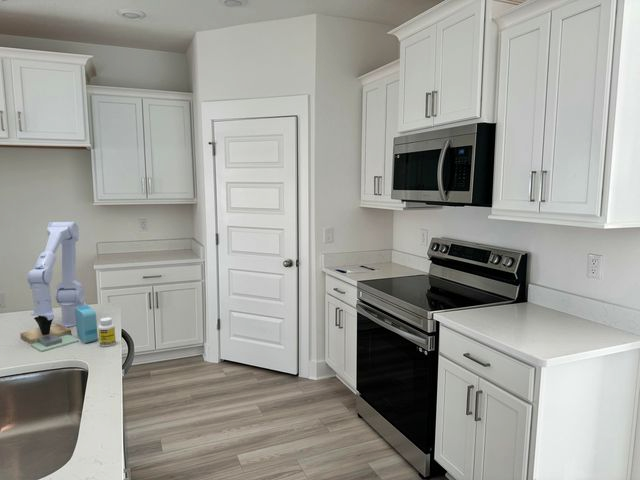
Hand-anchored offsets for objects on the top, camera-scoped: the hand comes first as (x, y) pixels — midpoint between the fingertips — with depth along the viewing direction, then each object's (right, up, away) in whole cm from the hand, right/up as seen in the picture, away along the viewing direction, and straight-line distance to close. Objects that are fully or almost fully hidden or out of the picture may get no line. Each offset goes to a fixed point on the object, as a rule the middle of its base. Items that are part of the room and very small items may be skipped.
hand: (45, 334), depth 169 cm
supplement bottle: (+25, -3, -3) cm, 26 cm away
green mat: (+5, -3, -2) cm, 6 cm away
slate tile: (+3, -2, -3) cm, 5 cm away
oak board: (-3, -2, +6) cm, 7 cm away
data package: (+15, -2, +3) cm, 15 cm away
